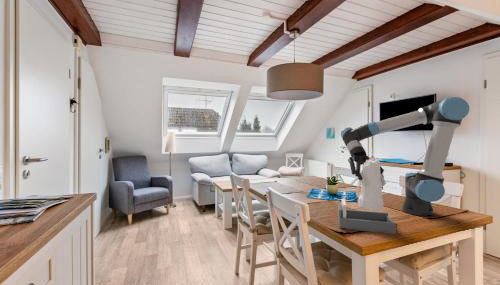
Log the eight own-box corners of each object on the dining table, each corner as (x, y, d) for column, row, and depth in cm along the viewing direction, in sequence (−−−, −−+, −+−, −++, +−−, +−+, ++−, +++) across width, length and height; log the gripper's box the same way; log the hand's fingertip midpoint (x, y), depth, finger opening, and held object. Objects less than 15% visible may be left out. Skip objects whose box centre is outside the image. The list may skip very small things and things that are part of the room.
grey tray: (387, 222, 121) (387, 205, 121) (395, 234, 106) (395, 214, 106) (338, 217, 129) (338, 201, 129) (339, 228, 114) (339, 210, 113)
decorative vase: (371, 211, 109) (371, 158, 109) (354, 205, 119) (354, 156, 119) (388, 209, 113) (388, 157, 113) (370, 203, 123) (370, 156, 123)
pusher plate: (344, 217, 126) (344, 198, 126) (346, 225, 114) (346, 205, 114) (340, 216, 127) (340, 198, 127) (341, 225, 115) (341, 204, 114)
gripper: (371, 154, 132) (391, 188, 117) (335, 155, 130) (350, 189, 114) (377, 145, 127) (399, 179, 111) (340, 146, 124) (356, 181, 109)
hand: (374, 184), depth 113 cm, fingers closed on decorative vase, 9 cm apart
